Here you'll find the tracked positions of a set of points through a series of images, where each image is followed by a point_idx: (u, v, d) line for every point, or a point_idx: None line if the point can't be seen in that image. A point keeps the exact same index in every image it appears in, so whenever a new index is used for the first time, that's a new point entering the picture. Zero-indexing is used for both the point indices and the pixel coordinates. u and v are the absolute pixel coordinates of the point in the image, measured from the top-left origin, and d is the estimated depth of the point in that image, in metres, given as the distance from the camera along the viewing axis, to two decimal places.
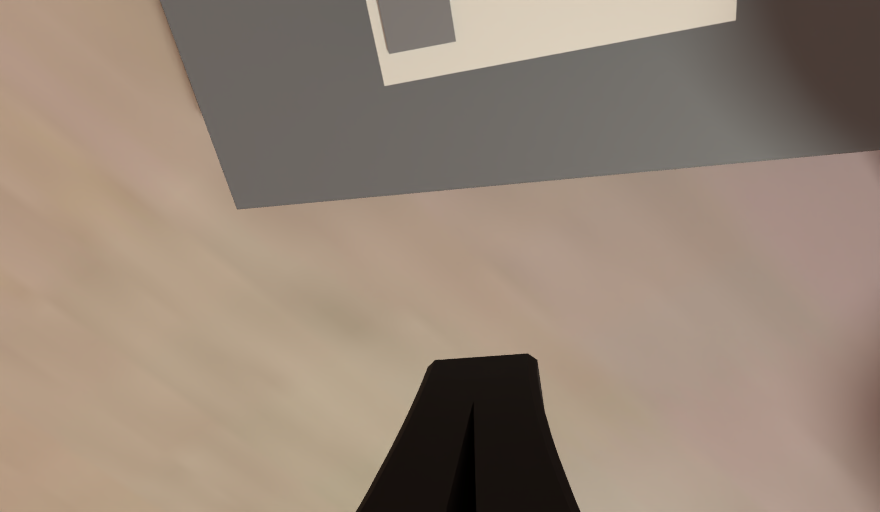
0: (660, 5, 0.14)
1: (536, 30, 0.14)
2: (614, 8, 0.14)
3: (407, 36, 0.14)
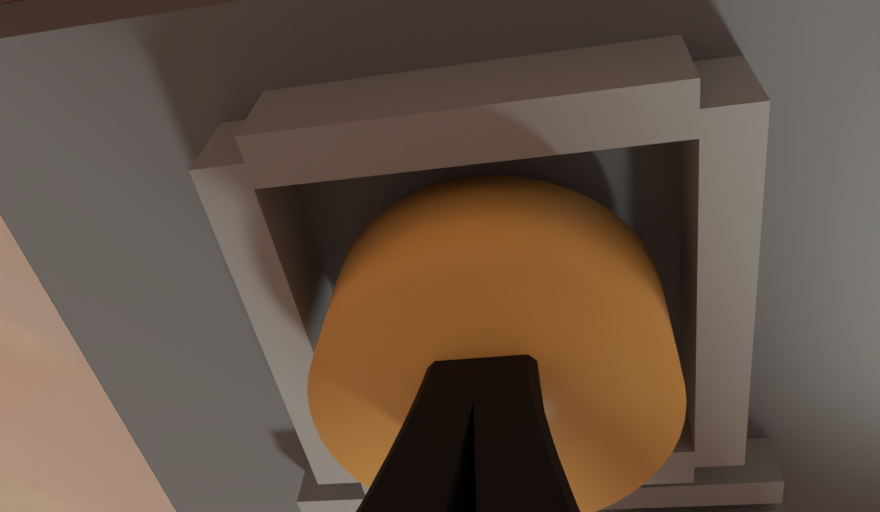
0: None
1: None
2: None
3: None
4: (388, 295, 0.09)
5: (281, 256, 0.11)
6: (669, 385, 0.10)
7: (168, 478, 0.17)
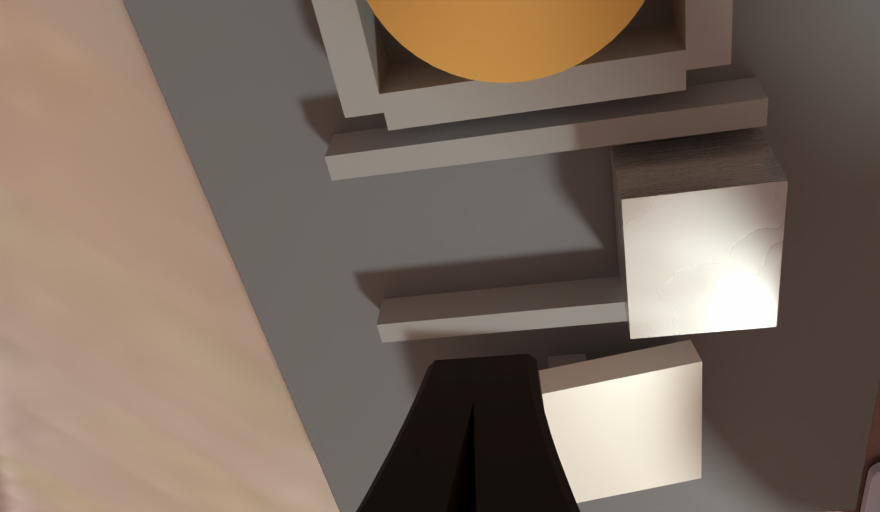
0: (651, 475, 0.21)
1: None
2: (621, 479, 0.21)
3: None
4: None
5: None
6: None
7: (204, 165, 0.18)
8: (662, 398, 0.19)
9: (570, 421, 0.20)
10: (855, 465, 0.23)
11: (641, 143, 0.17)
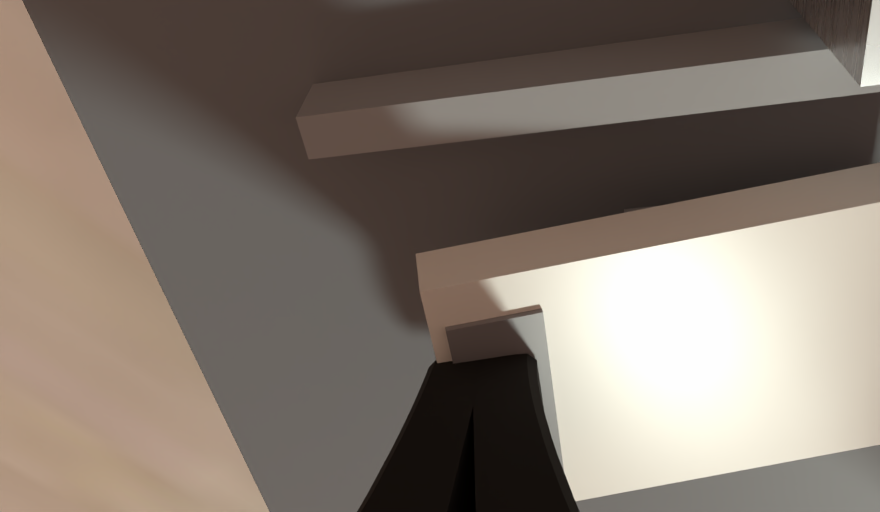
0: (813, 433, 0.11)
1: (661, 462, 0.11)
2: (758, 439, 0.11)
3: None
4: None
5: None
6: None
7: None
8: (866, 270, 0.10)
9: (680, 316, 0.10)
10: None
11: None
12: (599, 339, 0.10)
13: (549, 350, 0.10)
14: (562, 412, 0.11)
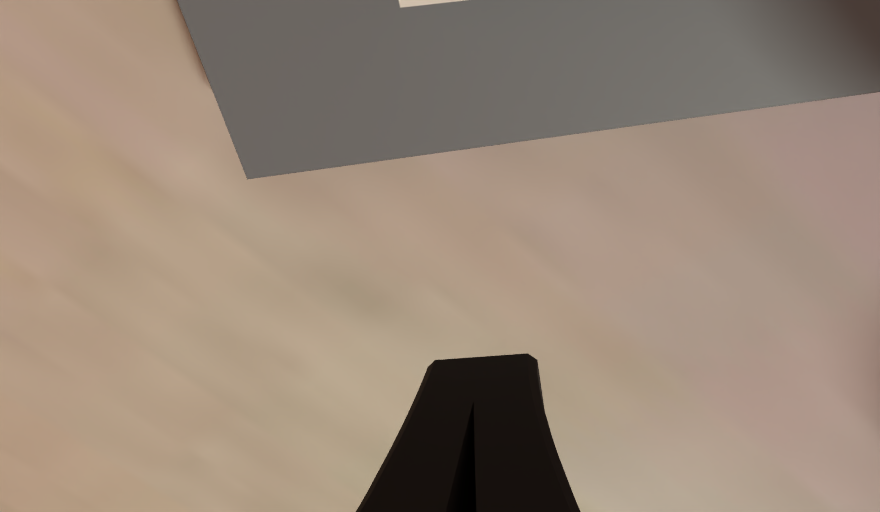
0: None
1: None
2: None
3: None
4: None
5: None
6: None
7: None
8: None
9: None
10: None
11: None
12: None
13: None
14: None
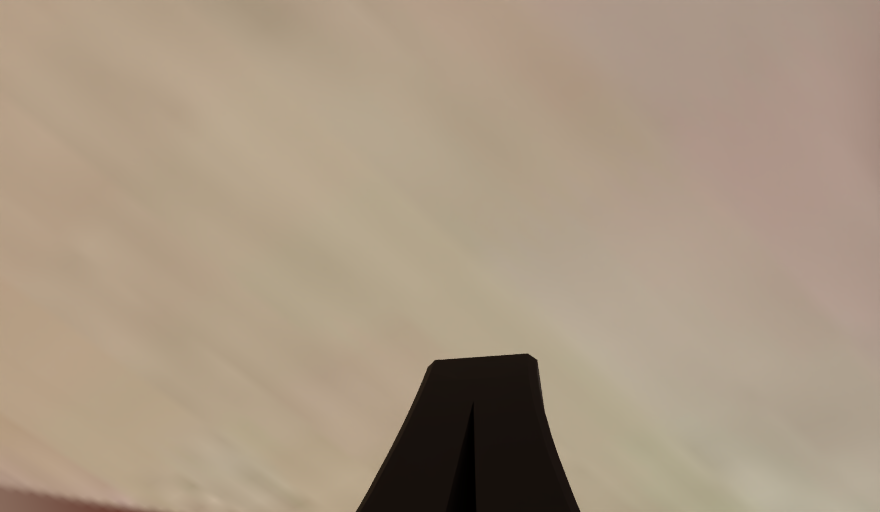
0: None
1: None
2: None
3: None
4: None
5: None
6: None
7: None
8: None
9: None
10: None
11: None
12: None
13: None
14: None
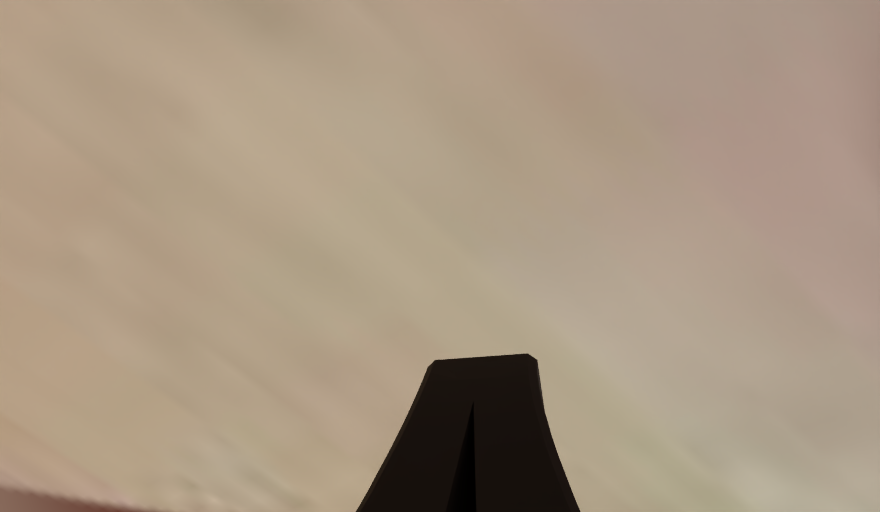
0: None
1: None
2: None
3: None
4: None
5: None
6: None
7: None
8: None
9: None
10: None
11: None
12: None
13: None
14: None
